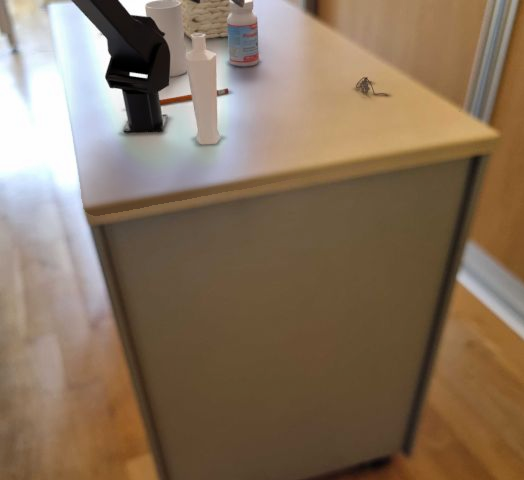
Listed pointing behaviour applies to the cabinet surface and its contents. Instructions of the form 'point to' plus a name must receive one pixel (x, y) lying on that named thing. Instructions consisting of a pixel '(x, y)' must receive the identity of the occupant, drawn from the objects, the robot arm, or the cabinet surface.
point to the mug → (170, 31)
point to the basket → (205, 17)
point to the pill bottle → (243, 35)
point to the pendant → (366, 85)
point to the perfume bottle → (203, 89)
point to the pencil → (188, 97)
